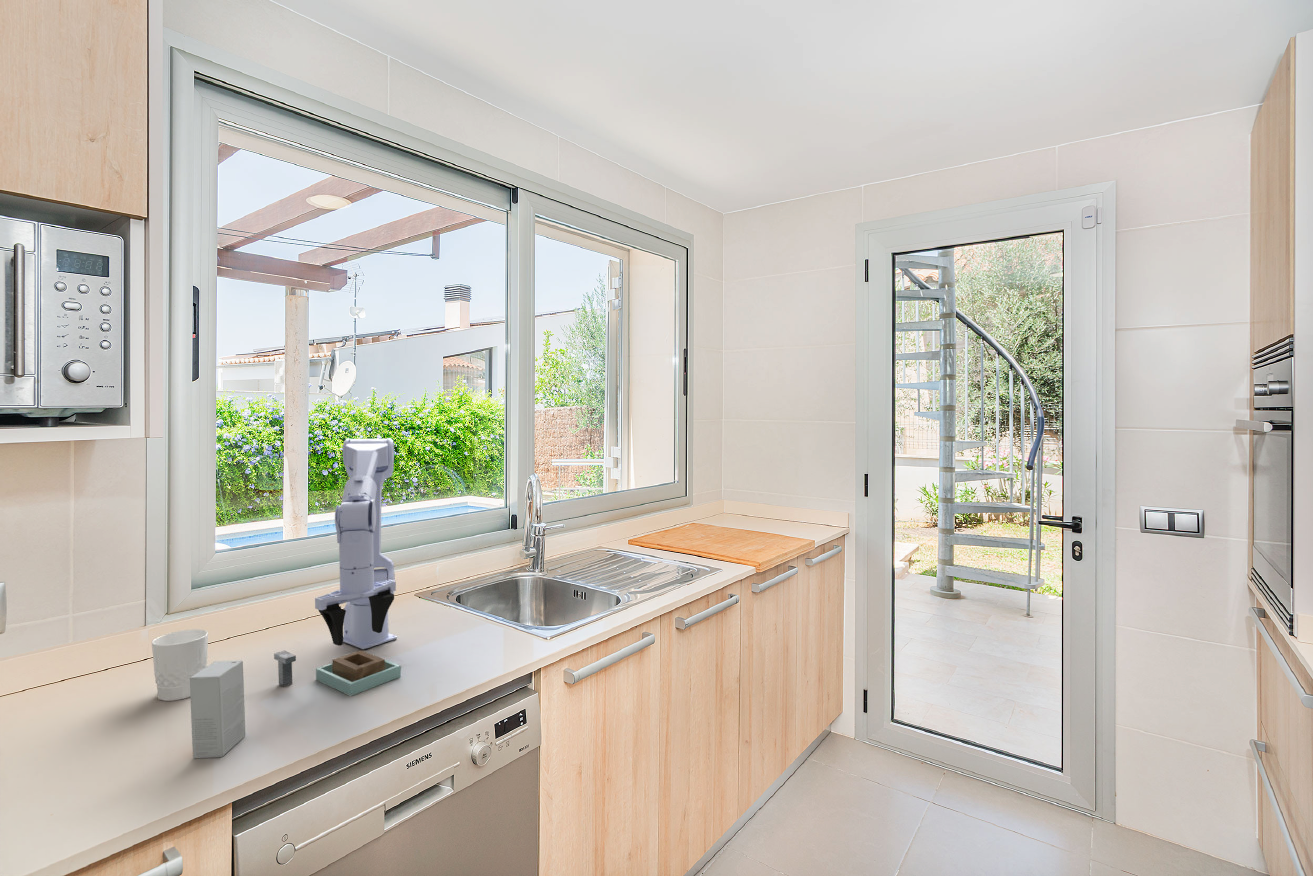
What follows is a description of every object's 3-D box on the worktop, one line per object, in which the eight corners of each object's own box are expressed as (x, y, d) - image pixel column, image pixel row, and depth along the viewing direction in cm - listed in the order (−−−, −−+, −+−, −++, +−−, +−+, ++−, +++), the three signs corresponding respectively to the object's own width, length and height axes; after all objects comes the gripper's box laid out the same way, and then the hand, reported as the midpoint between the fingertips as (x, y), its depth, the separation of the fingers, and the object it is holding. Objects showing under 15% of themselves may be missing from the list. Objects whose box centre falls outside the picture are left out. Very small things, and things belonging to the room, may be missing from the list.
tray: (316, 679, 115) (315, 668, 115) (365, 662, 123) (365, 652, 123) (350, 696, 108) (350, 684, 108) (400, 676, 116) (400, 665, 116)
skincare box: (216, 737, 95) (215, 660, 94) (246, 736, 95) (244, 659, 94) (190, 759, 89) (188, 677, 88) (222, 758, 89) (219, 676, 88)
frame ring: (356, 686, 111) (355, 669, 111) (332, 675, 116) (332, 659, 116) (384, 675, 116) (384, 659, 116) (361, 665, 120) (361, 650, 120)
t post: (274, 683, 114) (274, 653, 113) (285, 679, 115) (284, 650, 115) (285, 688, 111) (285, 658, 111) (296, 685, 113) (295, 655, 112)
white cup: (147, 706, 104) (146, 648, 104) (159, 688, 111) (158, 633, 111) (205, 697, 108) (203, 640, 108) (213, 679, 115) (211, 626, 115)
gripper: (329, 577, 107) (330, 655, 107) (404, 561, 119) (405, 630, 119) (308, 571, 111) (309, 646, 111) (383, 555, 123) (384, 623, 123)
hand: (358, 637), depth 116 cm, fingers open, 7 cm apart
